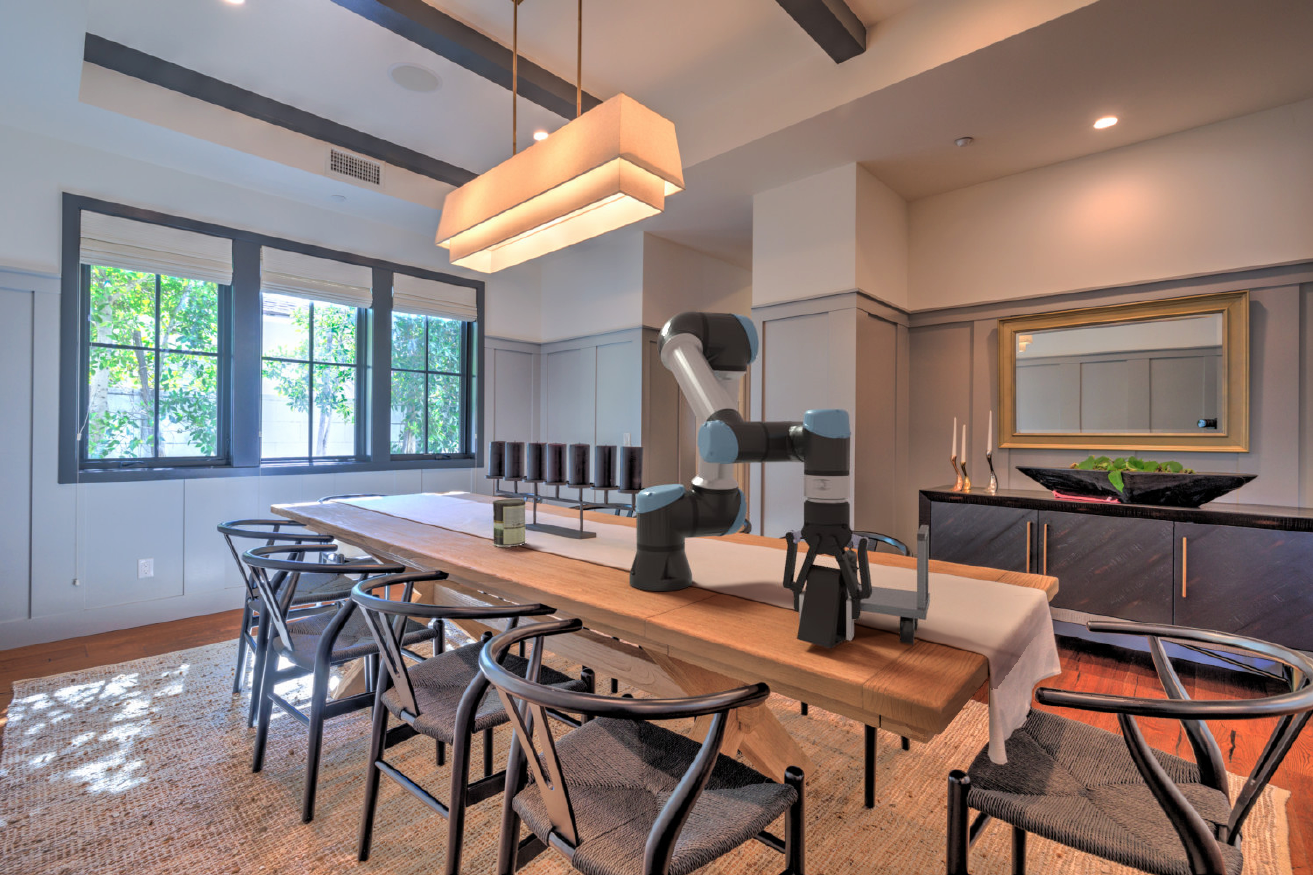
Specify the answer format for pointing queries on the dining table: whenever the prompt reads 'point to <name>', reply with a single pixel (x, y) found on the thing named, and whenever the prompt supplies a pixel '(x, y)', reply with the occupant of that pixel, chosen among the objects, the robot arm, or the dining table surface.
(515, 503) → the coffee can
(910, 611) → the trolley
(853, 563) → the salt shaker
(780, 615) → the dining table surface
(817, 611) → the black a-frame stand
